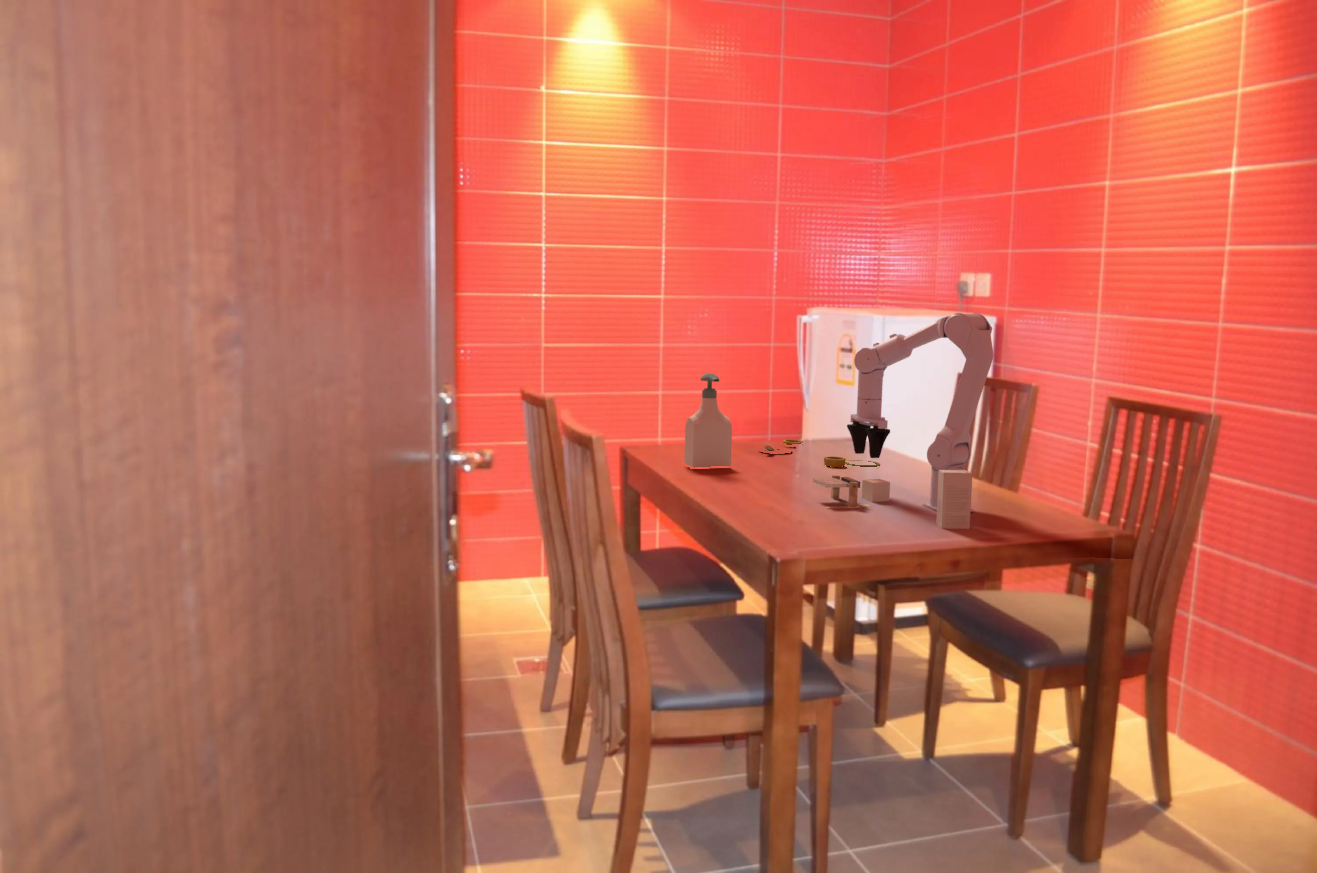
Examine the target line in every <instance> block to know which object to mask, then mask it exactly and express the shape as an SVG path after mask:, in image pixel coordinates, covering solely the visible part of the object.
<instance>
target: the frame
mask: <svg viewBox="0 0 1317 873" xmlns="http://www.w3.org/2000/svg"><path fill="white" fill-rule="evenodd" d="M831 478H836V479H839V480H841V475H838V474H837V475H836V474H834V475H831ZM841 481H842V480H841ZM844 482H845V481H844ZM846 483H847V482H846ZM830 489H831V490H830V492H831V494H830V498H831V499H832V498H833V500H837V498H839V499H840V489H841V487H836V488H830ZM858 491H859V488H858V483H857V482H850V483H849V487H848V505H847V506H844V505H843V506H825V507H824V508H825V509H826V510H830V509H833V508H835V509H856V508H857V509H858V508H872V507H873V506H871V505H870V504H867V503H865V504H864V503H858Z"/></svg>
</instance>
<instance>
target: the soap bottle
mask: <svg viewBox="0 0 1317 873" xmlns="http://www.w3.org/2000/svg"><path fill="white" fill-rule="evenodd" d="M700 381H702V382H703V381H704V382H707V387H705V388H703V389H702V392H701V402H700V406H699V408H698V409H697V411H696V412H695V413H693V414H692V415H691V416H689V417H687V419H686V422H685V426H684V457H683V458H684V462H683V463H686V464H687V465H690V466H691V467H694V468H695V467H711V466H731V467H732V443H733V442H732V440H733V439H732V438H733V427H732V421H731V419H730V418H729V416H726V415H725V414H724V413H723V412H722V411H721V410H720V408H719V406H718V399H717V393H718V392H717V390H716V388H713V382H714V383H715V382H717V383H719V382H720V378H719V376H718V375H716V374H714V373H711V372H708V373H705V374H703V375H702V376H701V377H700Z"/></svg>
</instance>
